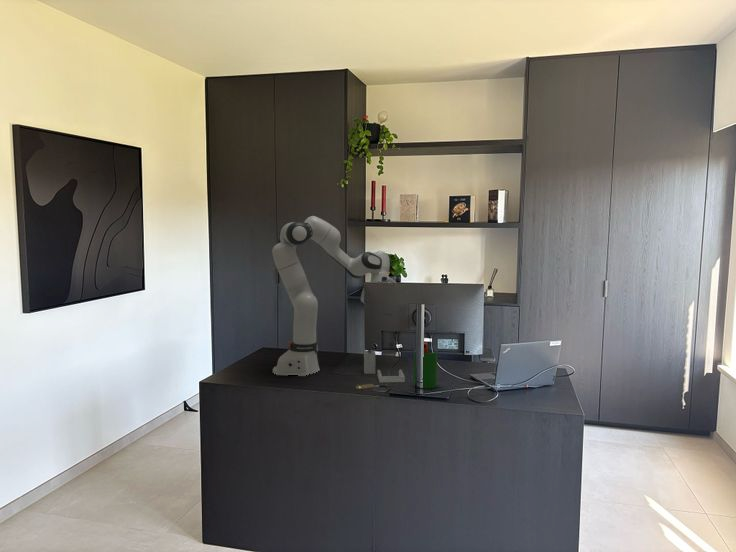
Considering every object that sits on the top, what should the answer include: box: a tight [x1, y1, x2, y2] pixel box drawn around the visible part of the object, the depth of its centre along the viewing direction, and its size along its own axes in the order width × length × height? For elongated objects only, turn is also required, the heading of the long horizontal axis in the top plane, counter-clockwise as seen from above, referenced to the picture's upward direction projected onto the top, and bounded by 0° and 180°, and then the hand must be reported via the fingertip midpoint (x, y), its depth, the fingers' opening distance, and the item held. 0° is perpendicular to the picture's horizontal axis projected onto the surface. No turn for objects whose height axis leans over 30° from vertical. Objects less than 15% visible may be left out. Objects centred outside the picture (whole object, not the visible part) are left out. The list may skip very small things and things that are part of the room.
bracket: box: [376, 369, 406, 384], centre depth 244 cm, size 11×11×2 cm
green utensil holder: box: [413, 342, 439, 390], centre depth 233 cm, size 10×9×20 cm
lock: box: [363, 349, 376, 375], centre depth 254 cm, size 5×6×11 cm
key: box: [355, 383, 375, 390], centre depth 232 cm, size 8×3×1 cm, turn 119°
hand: (376, 308), depth 259 cm, fingers open, 8 cm apart
